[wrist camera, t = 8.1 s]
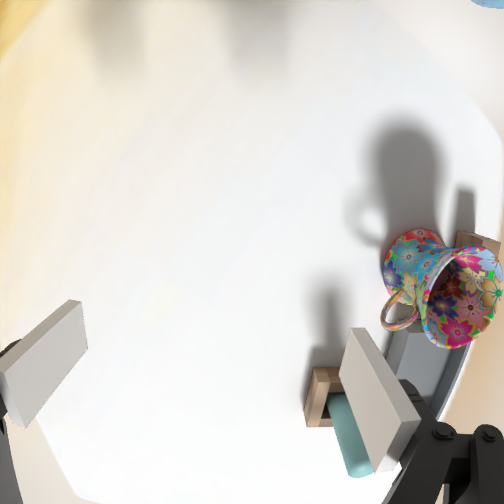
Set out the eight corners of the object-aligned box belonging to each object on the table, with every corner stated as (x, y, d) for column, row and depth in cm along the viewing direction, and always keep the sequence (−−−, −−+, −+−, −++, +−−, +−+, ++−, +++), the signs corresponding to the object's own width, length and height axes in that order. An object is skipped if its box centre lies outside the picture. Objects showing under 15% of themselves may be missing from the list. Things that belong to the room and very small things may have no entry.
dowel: (326, 380, 36) (353, 459, 23) (351, 380, 36) (385, 455, 23) (321, 400, 37) (344, 479, 24) (345, 399, 37) (374, 475, 24)
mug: (436, 210, 31) (497, 227, 21) (452, 283, 33) (506, 318, 23) (342, 255, 32) (381, 291, 22) (367, 328, 34) (404, 381, 24)
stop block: (457, 230, 32) (483, 239, 27) (475, 233, 32) (500, 242, 27) (439, 311, 34) (460, 329, 29) (457, 311, 34) (478, 328, 29)
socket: (313, 367, 35) (318, 382, 32) (369, 367, 36) (376, 381, 33) (303, 411, 37) (306, 427, 34) (355, 410, 37) (361, 424, 34)
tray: (397, 319, 34) (409, 332, 31) (460, 319, 34) (475, 330, 31) (367, 412, 37) (375, 428, 34) (428, 405, 38) (438, 419, 34)
